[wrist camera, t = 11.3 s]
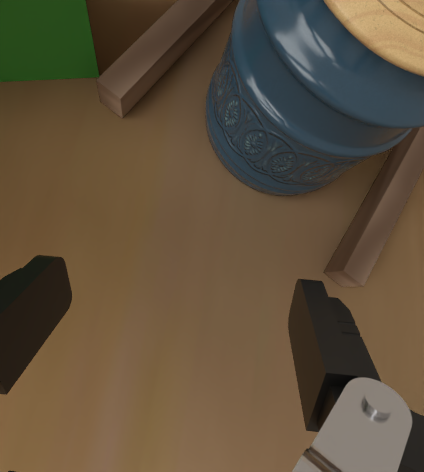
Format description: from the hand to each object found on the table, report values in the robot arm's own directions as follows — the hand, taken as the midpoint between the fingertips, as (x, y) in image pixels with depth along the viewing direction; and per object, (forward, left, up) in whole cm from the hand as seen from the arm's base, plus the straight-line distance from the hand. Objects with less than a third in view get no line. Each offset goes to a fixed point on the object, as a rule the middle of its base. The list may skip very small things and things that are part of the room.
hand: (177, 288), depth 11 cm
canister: (0, +17, -12) cm, 21 cm away
